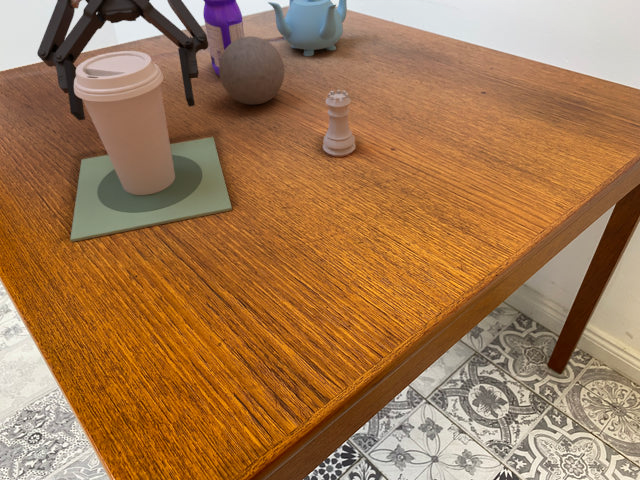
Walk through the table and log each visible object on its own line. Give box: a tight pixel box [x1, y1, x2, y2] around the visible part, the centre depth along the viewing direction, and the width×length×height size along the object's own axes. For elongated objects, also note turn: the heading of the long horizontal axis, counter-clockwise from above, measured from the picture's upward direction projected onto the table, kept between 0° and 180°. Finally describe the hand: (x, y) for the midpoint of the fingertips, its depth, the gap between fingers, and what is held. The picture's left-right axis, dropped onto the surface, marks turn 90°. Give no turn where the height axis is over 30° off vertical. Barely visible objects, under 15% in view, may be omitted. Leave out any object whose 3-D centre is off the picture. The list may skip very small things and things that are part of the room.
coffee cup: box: [74, 50, 175, 195], centre depth 61 cm, size 10×10×15 cm
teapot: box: [267, 0, 348, 57], centre depth 97 cm, size 13×13×10 cm
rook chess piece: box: [322, 89, 356, 158], centre depth 68 cm, size 4×4×8 cm
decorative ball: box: [218, 36, 285, 106], centre depth 80 cm, size 10×10×10 cm
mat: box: [69, 136, 233, 243], centre depth 66 cm, size 18×18×1 cm
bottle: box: [202, 0, 245, 77], centre depth 87 cm, size 7×6×17 cm
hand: (135, 109), depth 64 cm, fingers open, 13 cm apart
